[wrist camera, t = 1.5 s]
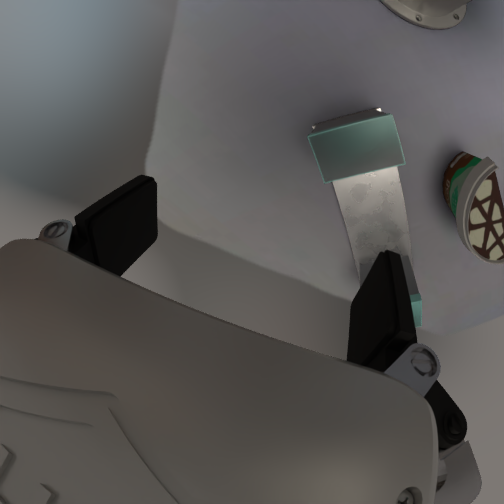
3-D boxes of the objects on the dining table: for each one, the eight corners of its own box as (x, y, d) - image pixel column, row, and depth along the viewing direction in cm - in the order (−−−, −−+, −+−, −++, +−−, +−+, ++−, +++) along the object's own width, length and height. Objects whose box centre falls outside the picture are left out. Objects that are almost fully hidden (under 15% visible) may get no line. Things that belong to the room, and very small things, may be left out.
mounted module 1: (376, 108, 24) (392, 114, 17) (387, 144, 26) (405, 164, 19) (315, 124, 27) (307, 136, 20) (328, 158, 29) (324, 183, 22)
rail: (377, 107, 25) (380, 108, 24) (411, 269, 35) (413, 277, 33) (313, 124, 29) (312, 126, 27) (360, 279, 39) (361, 287, 37)
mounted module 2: (408, 254, 32) (421, 300, 25) (411, 279, 34) (421, 326, 27) (358, 264, 35) (359, 311, 28) (363, 287, 37) (364, 335, 30)
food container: (420, 158, 27) (448, 186, 19) (458, 140, 24) (497, 162, 16) (448, 238, 31) (472, 284, 23) (482, 222, 27) (513, 263, 19)
